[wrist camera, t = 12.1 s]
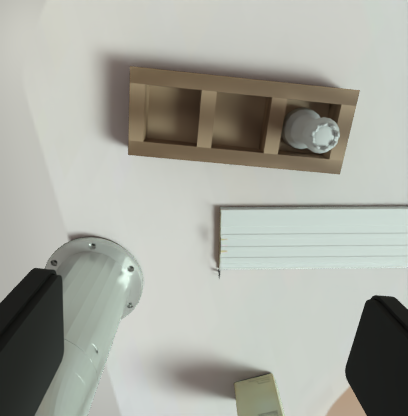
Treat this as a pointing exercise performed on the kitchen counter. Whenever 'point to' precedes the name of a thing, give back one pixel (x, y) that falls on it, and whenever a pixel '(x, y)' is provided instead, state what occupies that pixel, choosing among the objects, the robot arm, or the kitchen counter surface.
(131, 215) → the kitchen counter surface
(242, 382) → the skincare box
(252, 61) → the kitchen counter surface
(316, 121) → the rook chess piece
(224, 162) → the rack
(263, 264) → the baseboard
